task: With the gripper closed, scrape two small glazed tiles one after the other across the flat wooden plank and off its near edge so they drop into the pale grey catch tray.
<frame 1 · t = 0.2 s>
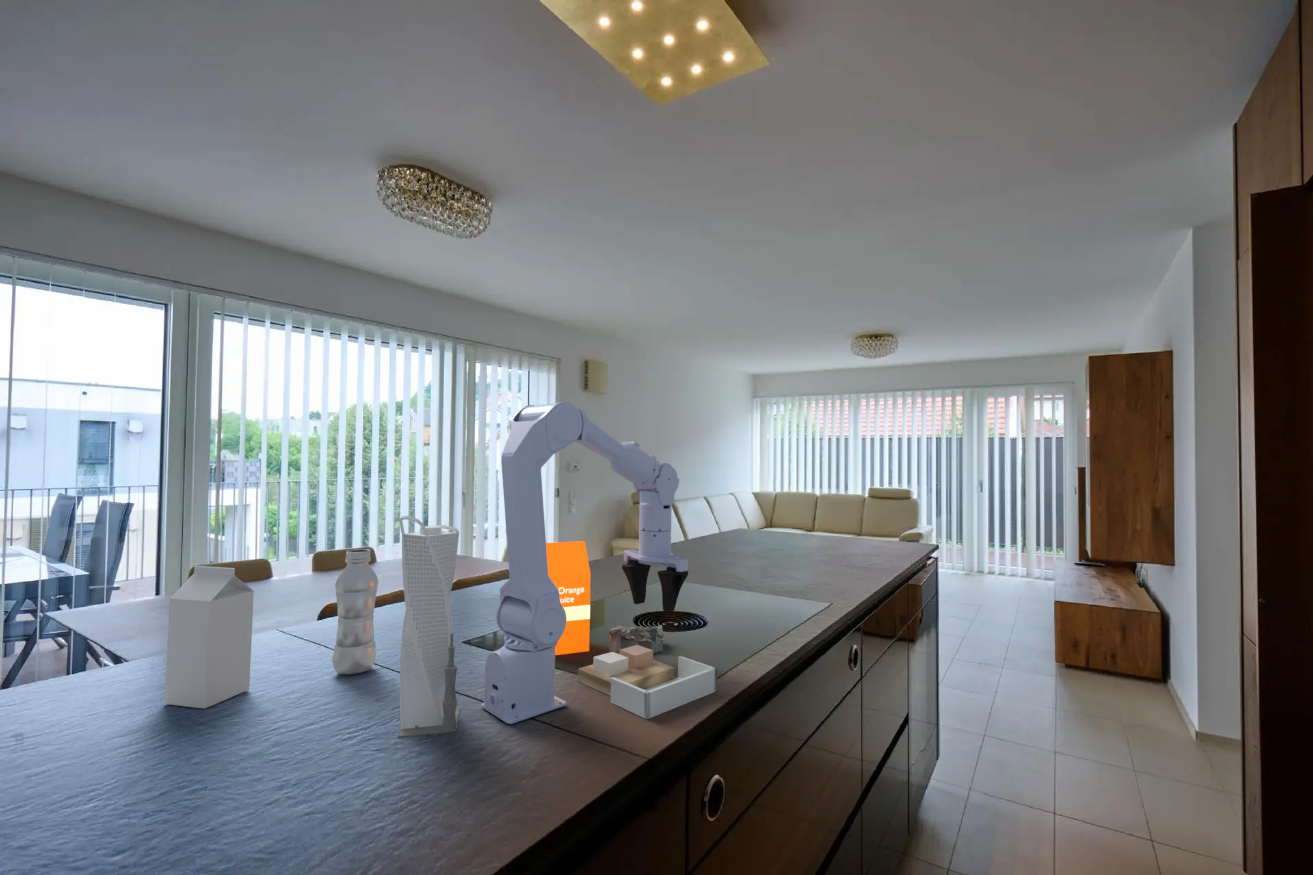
hand: (653, 607, 104), 10 cm above the counter, tool pointing down, fingers open, 7 cm apart
milk carton: (208, 699, 86), on the counter
catch tray: (665, 696, 89), on the counter
terracotta tile: (636, 662, 98), point 2 cm above the counter, touching flat wooden plank
cream tile: (610, 669, 94), point 2 cm above the counter, touching flat wooden plank
plastic bottle: (354, 673, 97), on the counter
skyscraper: (425, 725, 79), on the counter
orange juice: (561, 648, 111), on the counter
egg carton: (635, 649, 113), on the counter
flat wooden plank: (626, 680, 95), on the counter
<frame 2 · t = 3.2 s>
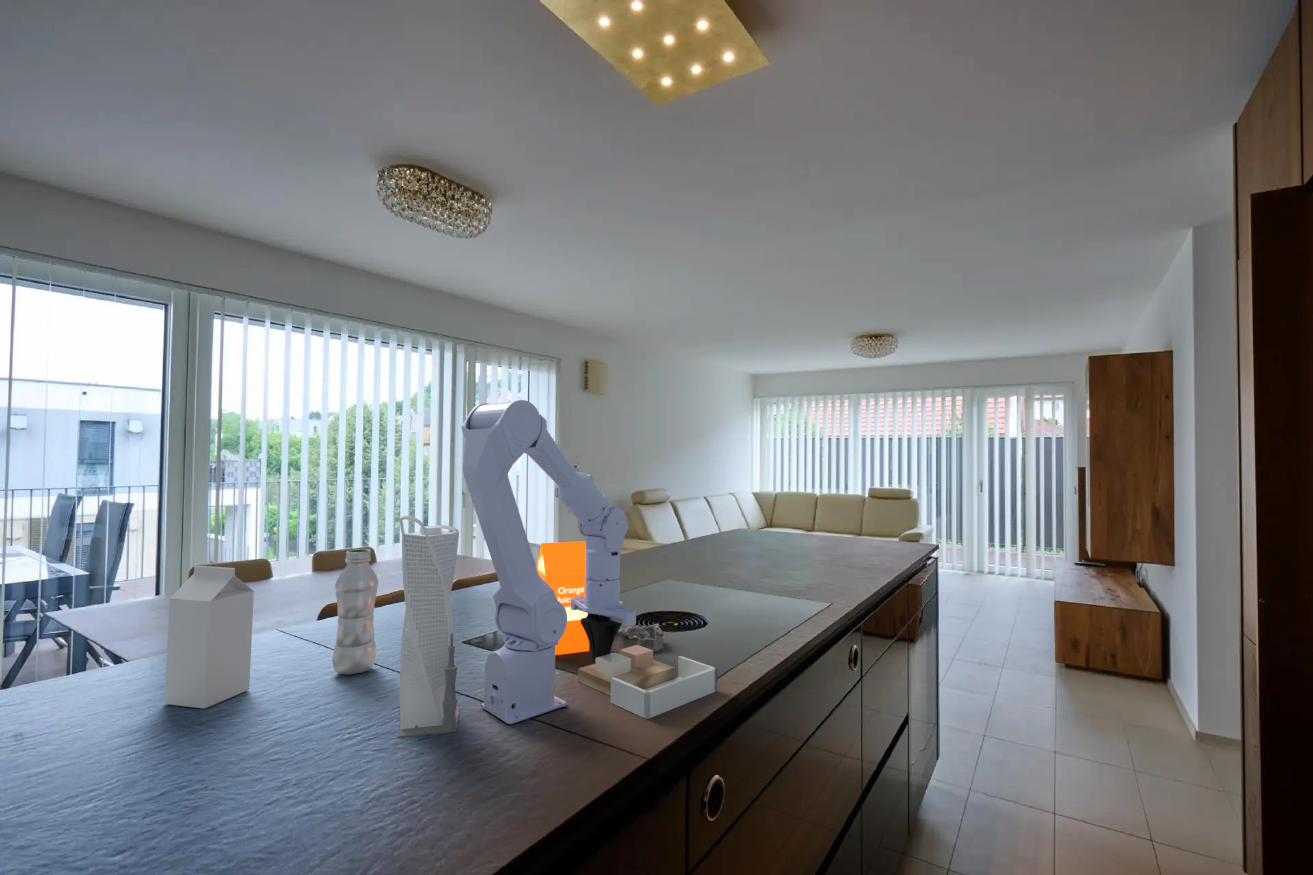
hand: (600, 661, 96), 3 cm above the counter, tool pointing down, fingers closed
cream tile: (613, 670, 94), point 2 cm above the counter, touching gripper, flat wooden plank
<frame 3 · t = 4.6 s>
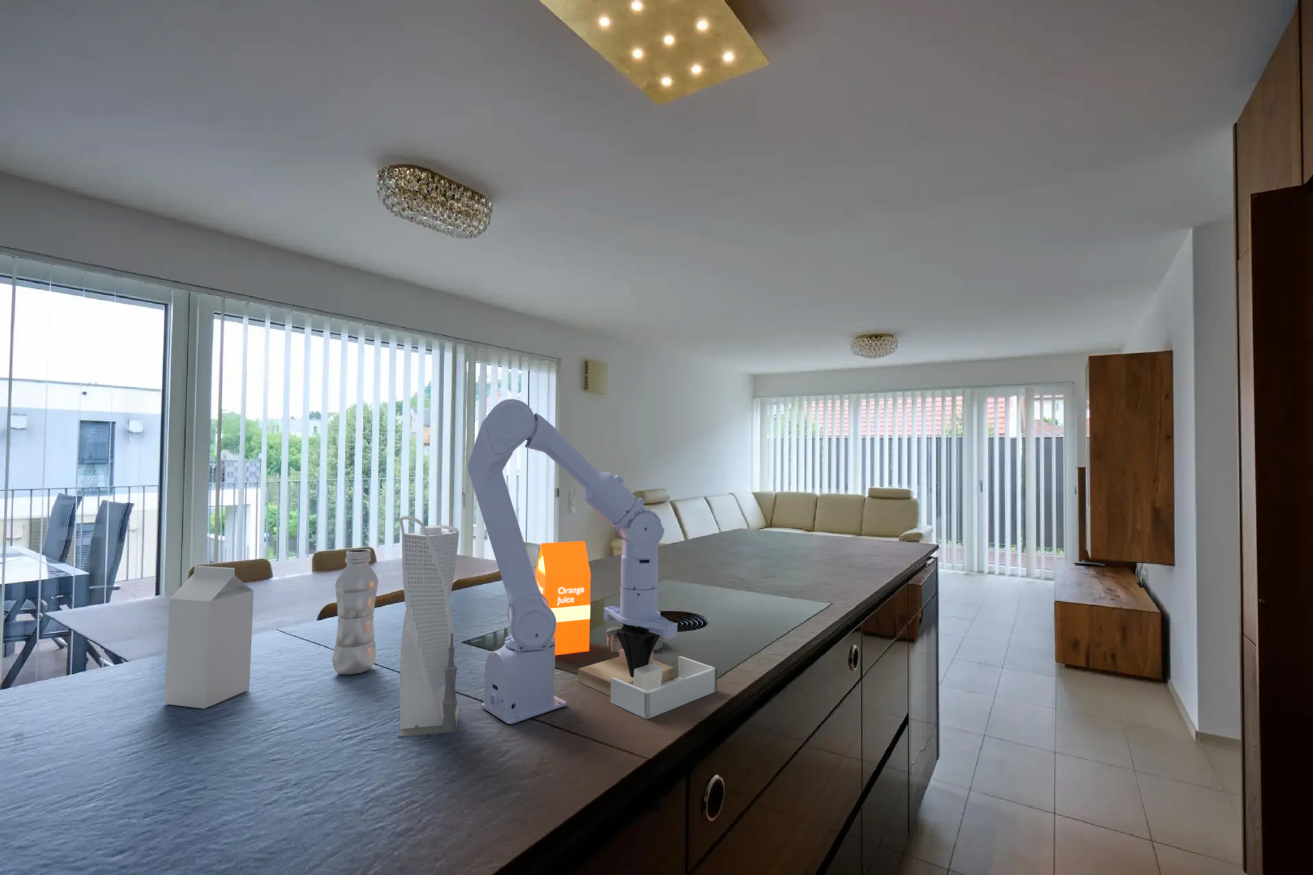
hand: (637, 676, 89), 3 cm above the counter, tool pointing down, fingers closed
cream tile: (642, 678, 89), point 3 cm above the counter, tilted 97°, touching catch tray
everything else where it was.
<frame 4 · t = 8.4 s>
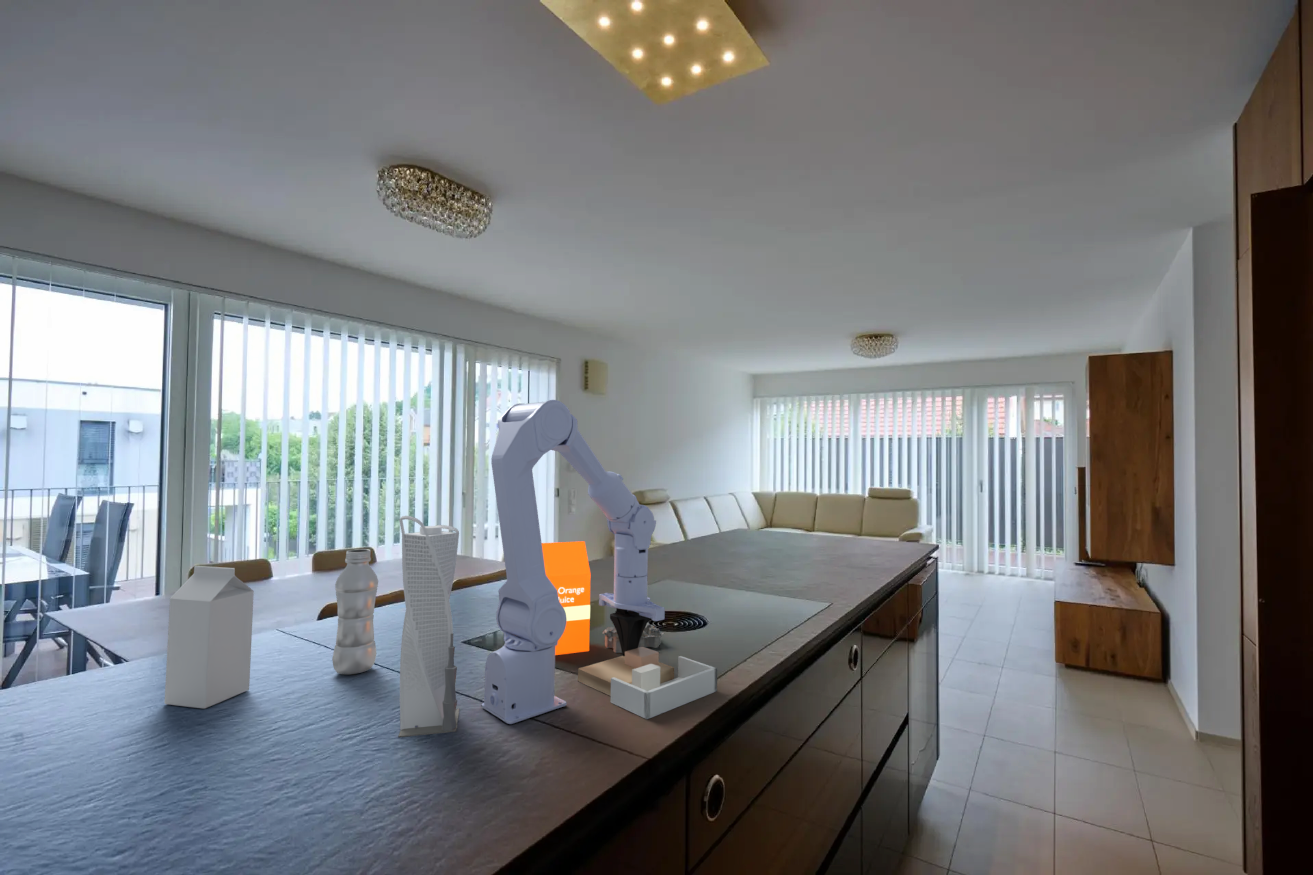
hand: (629, 655, 99), 3 cm above the counter, tool pointing down, fingers closed
terracotta tile: (641, 664, 97), point 2 cm above the counter, touching gripper, flat wooden plank
cream tile: (641, 679, 89), point 2 cm above the counter, tilted 90°, touching catch tray
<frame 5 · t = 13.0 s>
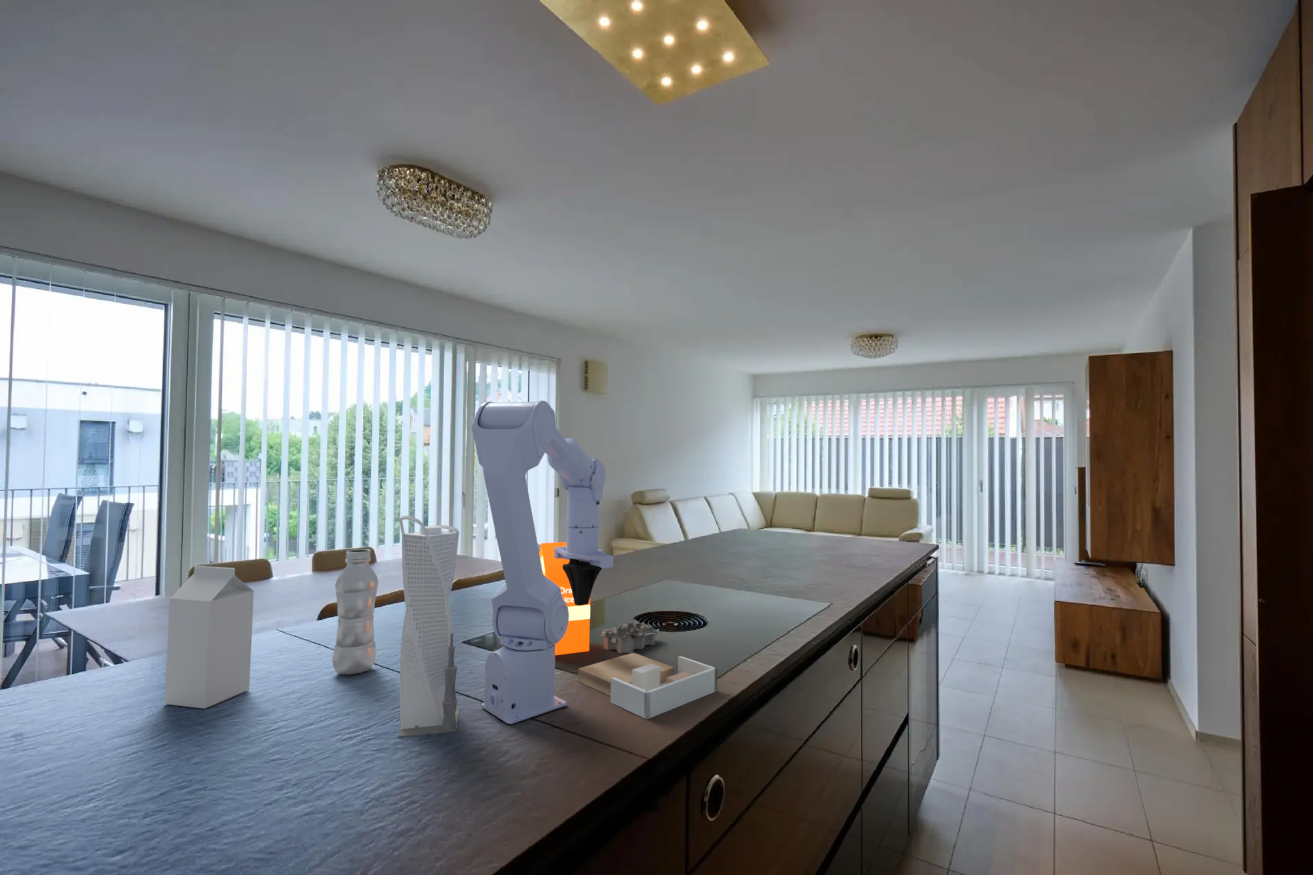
hand: (581, 604, 103), 10 cm above the counter, tool pointing down, fingers closed
terracotta tile: (684, 677, 90), point 2 cm above the counter, tilted 180°, touching catch tray
at the end: cream tile inside the target area (4.3 cm from its centre), point 2.3 cm above the counter; terracotta tile inside the target area (3.1 cm from its centre), point 2.3 cm above the counter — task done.
